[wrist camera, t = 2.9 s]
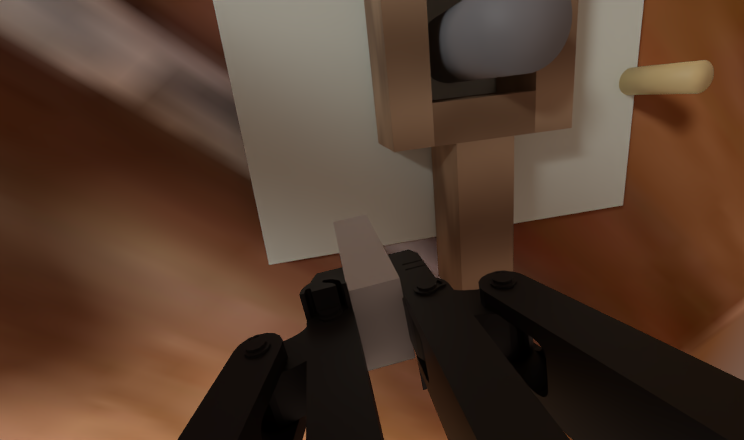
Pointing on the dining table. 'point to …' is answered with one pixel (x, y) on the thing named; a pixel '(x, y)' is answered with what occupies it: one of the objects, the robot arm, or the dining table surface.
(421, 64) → the wooden frame with handle
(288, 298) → the dining table surface
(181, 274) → the dining table surface
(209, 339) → the dining table surface
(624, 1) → the post board
